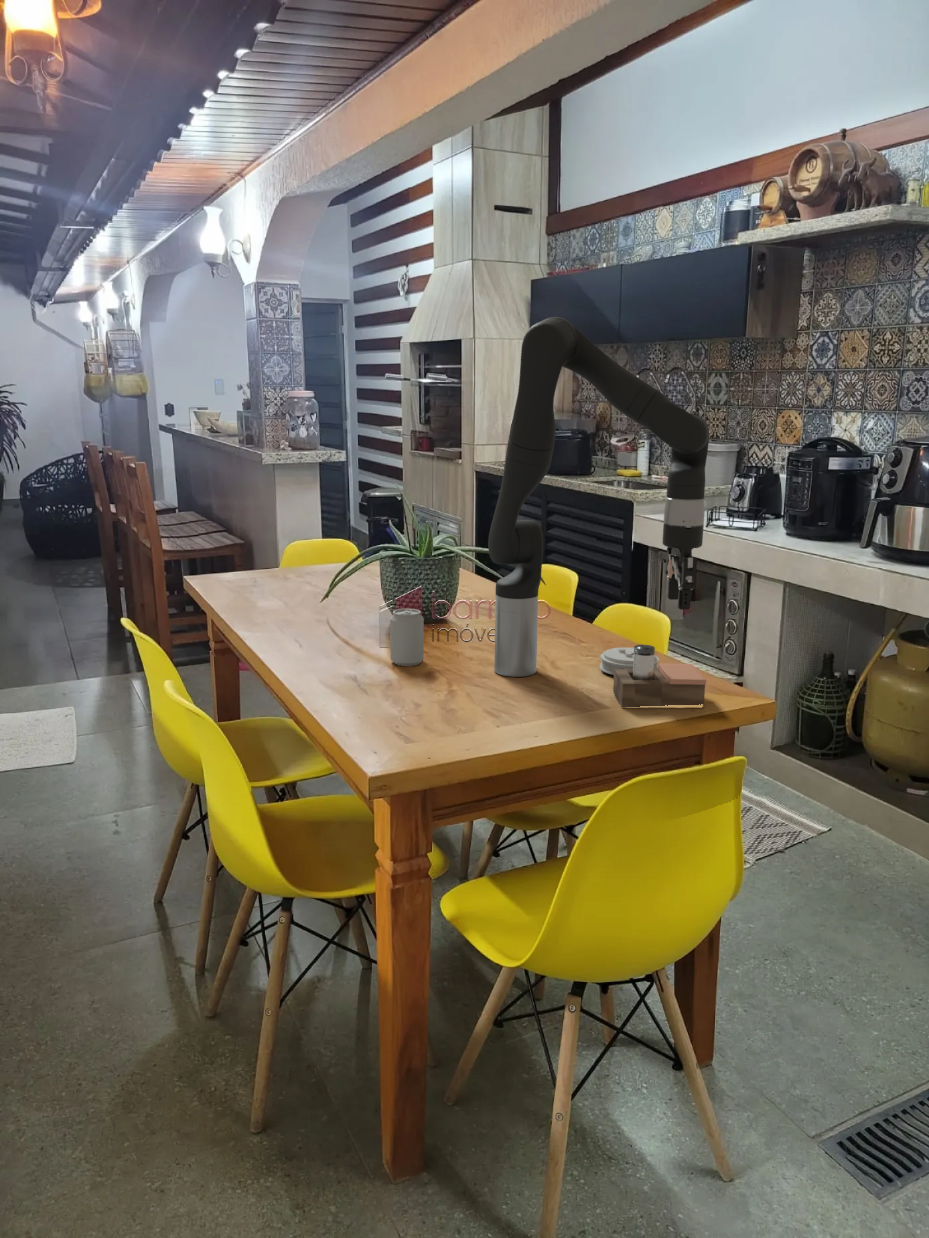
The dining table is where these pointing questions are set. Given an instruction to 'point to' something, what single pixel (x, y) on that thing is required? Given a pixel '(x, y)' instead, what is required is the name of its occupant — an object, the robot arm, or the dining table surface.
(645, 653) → the pin
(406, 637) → the can
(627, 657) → the lid
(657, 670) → the socket block
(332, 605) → the dining table surface
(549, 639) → the dining table surface
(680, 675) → the pink flat board
